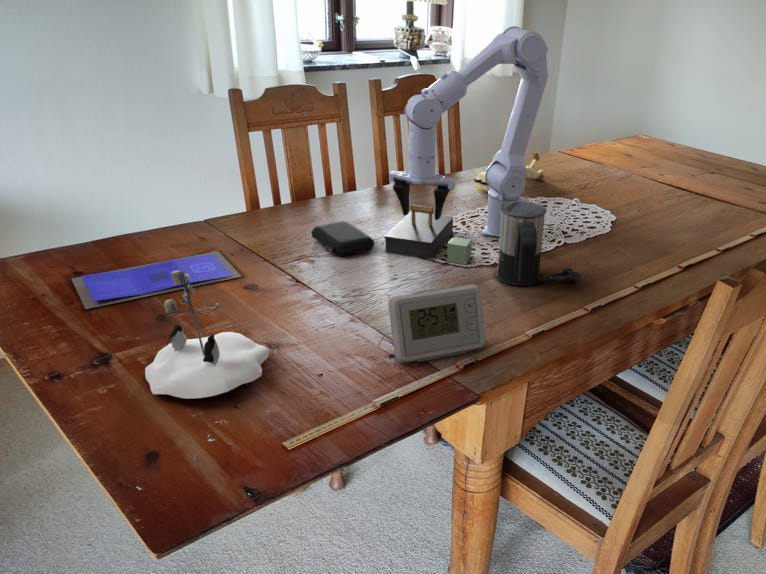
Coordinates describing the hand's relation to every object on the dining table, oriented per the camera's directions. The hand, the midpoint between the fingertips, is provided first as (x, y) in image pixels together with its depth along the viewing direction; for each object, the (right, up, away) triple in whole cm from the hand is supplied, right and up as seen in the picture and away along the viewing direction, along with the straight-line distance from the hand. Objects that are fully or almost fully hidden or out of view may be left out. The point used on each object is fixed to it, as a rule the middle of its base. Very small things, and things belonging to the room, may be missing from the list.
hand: (421, 216), depth 154 cm
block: (+9, -11, -5) cm, 15 cm away
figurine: (-29, -34, -47) cm, 65 cm away
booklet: (-50, -16, -20) cm, 56 cm away
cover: (0, -3, 0) cm, 3 cm away
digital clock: (+6, -31, -38) cm, 50 cm away
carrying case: (-18, -7, -1) cm, 19 cm away
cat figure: (+21, +17, +41) cm, 49 cm away
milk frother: (+25, -16, -12) cm, 32 cm away
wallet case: (-1, -6, +2) cm, 6 cm away
